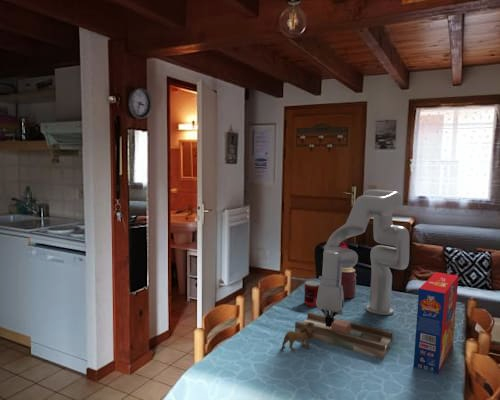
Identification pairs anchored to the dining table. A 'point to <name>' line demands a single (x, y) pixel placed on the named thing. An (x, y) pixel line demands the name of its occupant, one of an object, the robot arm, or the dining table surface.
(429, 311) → the pasta box
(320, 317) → the channel board
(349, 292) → the canister
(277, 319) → the dining table surface
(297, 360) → the dining table surface
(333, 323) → the block
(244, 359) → the dining table surface
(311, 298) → the canned food
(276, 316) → the dining table surface
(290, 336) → the lion figurine
